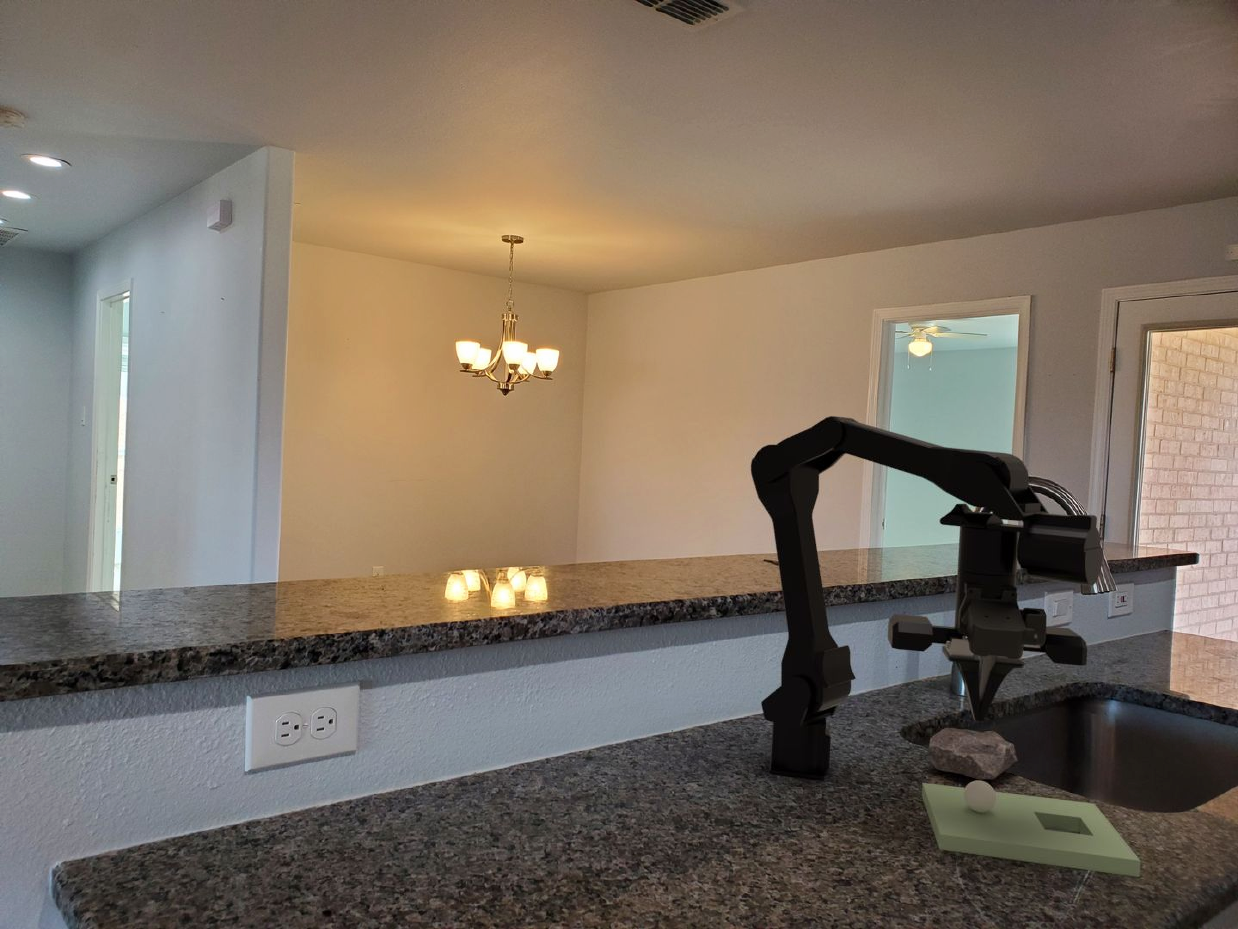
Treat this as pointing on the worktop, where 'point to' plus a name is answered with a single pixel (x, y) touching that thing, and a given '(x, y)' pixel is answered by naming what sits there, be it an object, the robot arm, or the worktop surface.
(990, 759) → the rock
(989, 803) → the ball
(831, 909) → the worktop surface
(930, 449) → the robot arm
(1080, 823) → the board
